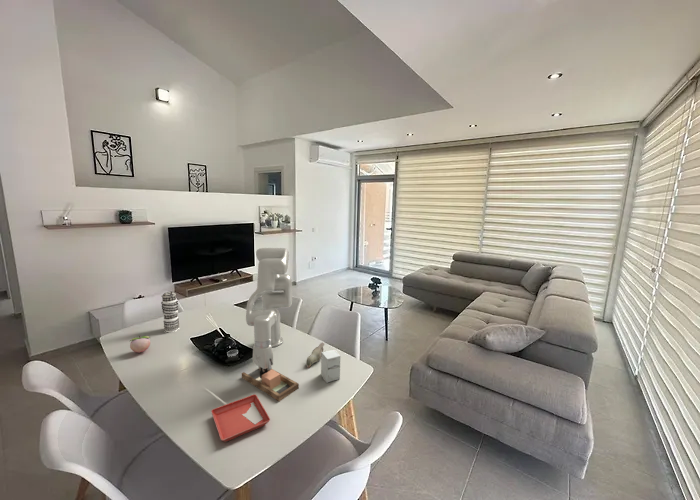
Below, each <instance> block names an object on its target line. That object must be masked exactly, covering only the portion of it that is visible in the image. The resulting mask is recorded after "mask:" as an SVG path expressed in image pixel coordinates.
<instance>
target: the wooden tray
mask: <svg viewBox="0 0 700 500" xmlns="http://www.w3.org/2000/svg"><path fill="white" fill-rule="evenodd" d="M271 370H274V371H276V372H278V371H277V370H275V369H273V368H272V369H271ZM268 371H269V370H268ZM278 373H279V374H280V379H281V384H279V385H278V386H276V387H274V388H273V389H271V388H269V387H267V386H266V385H264V384H262V379H261V378H260V370H259V368H257V369H255V370H253V371H252V372H250V373H246V372H245V371H243V372H242V373H241V378H242V379H243V380H245V381H246V382H248V383H249V384H250V385H252V386H253V387H256V388H257V389H259V390H260V391H262V392H263V393H265V394H267V395H268V396H270V397H271V398H273V399H274V400H276V401H278V402H281V401H283V400H284V399H285V398H287V397H289V396H290V395H291V394H292V393H295V392H296V391H298V389H299V387H300V385H299V382H296V381H294V380H293V379H291V378H289V377H288V376H285V374H284V375H283V374H282V373H280V372H278Z"/></svg>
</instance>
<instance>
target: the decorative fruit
mask: <svg viewBox="0 0 700 500" xmlns="http://www.w3.org/2000/svg"><path fill="white" fill-rule="evenodd" d="M138 336H139V337H138ZM138 336H137V337H133V338H132V339H130V340H129V342H130V345H129V346H130V350H132V352H134V353H140V352H142V353H144V352H145V351H147V350H148V349H149V347H150V346H151V340H150V339H151V337H150V336H148V335H146V336H145V335H144V336H141V335H138Z"/></svg>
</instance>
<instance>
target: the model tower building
mask: <svg viewBox="0 0 700 500" xmlns="http://www.w3.org/2000/svg"><path fill="white" fill-rule="evenodd" d="M161 297H162V301H161V302H160V304H161V310H162V315H163V321H162V322H163V327H164V328H163V330H166V332H171V333H175V332H177V330H178V329H179V330H180V322H179V319H180V318H179V315H178V313H179V306H178V305H179V300H177V299H178V298H177V293H175V292H174V291H167V292H164V293H163V294H162V295H161ZM179 330H178V331H179ZM174 331H175V332H174ZM166 332H165V333H166Z"/></svg>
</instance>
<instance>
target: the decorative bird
mask: <svg viewBox="0 0 700 500" xmlns="http://www.w3.org/2000/svg"><path fill="white" fill-rule="evenodd" d="M324 346H325V343H324V342H320V343H319V344H318V346H317V347H315V348H314V349H313V350H312V351H311V353H310V354H309V356H308V357H307V358H306V368H307V369H310V368H311V366H312V365H313V364H315V363H318V362H319V361H321V352H324Z"/></svg>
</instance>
